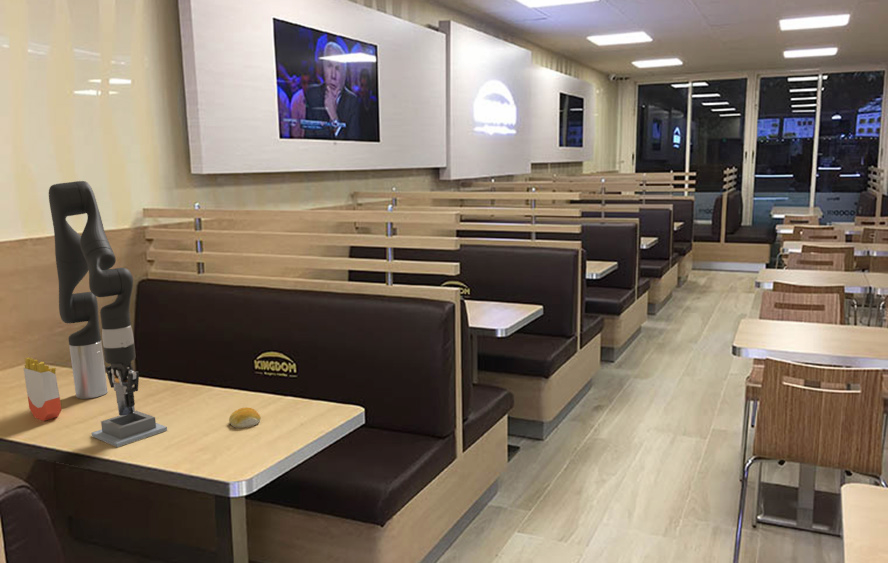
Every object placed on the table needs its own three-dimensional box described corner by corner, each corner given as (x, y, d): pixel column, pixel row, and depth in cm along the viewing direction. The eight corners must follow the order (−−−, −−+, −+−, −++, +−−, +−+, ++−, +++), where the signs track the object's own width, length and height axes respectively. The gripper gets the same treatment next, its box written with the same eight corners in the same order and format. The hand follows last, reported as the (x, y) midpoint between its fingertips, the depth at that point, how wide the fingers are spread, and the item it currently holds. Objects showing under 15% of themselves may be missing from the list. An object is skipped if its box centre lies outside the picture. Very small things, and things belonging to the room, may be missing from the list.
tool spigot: (116, 413, 194) (111, 378, 193) (130, 409, 198) (126, 374, 196) (123, 416, 192) (119, 380, 190) (137, 412, 195) (133, 376, 193)
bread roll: (256, 415, 206) (255, 402, 206) (263, 424, 198) (262, 411, 198) (226, 421, 203) (225, 407, 202) (232, 430, 195) (231, 416, 194)
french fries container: (46, 411, 217) (37, 353, 214) (63, 417, 211) (55, 358, 208) (30, 416, 214) (21, 357, 211) (47, 422, 207) (39, 362, 204)
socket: (91, 436, 195) (90, 422, 194) (140, 420, 205) (139, 407, 205) (117, 447, 186) (115, 432, 185) (167, 430, 197) (165, 416, 196)
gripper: (91, 343, 193) (99, 404, 196) (118, 349, 184) (125, 414, 187) (119, 337, 199) (126, 397, 202) (145, 343, 190) (153, 405, 193)
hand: (126, 404), depth 194 cm, fingers closed on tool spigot, 4 cm apart
